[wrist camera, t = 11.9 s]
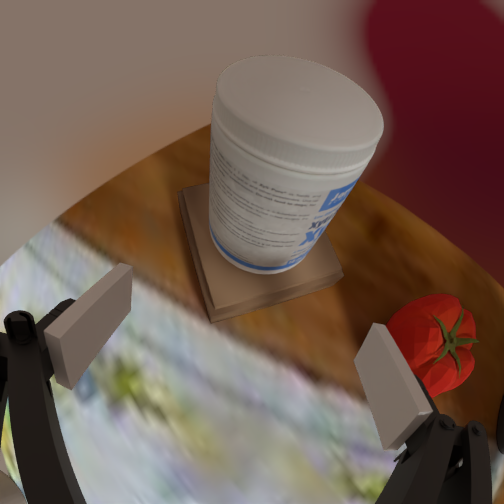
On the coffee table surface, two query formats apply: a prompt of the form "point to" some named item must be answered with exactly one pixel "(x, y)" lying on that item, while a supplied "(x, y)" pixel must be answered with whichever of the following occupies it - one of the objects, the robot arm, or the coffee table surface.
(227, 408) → the coffee table surface
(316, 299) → the coffee table surface
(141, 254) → the coffee table surface
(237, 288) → the plinth
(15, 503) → the beige bookend
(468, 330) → the tomato
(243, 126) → the supplement tub
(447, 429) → the robot arm
